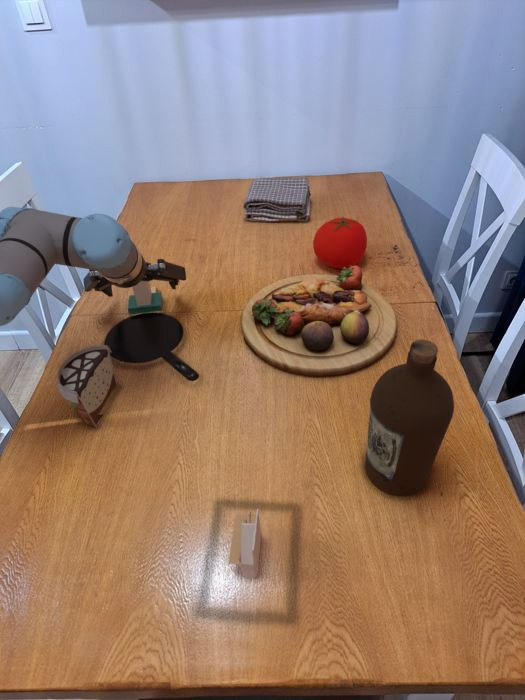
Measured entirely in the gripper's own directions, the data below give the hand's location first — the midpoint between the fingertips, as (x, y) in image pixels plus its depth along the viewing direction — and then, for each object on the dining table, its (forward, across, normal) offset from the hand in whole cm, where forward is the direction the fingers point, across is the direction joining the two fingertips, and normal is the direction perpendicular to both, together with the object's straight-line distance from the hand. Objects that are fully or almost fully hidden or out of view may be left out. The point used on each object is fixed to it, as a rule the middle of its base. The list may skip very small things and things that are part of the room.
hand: (142, 286), depth 106 cm
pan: (-8, +3, -15) cm, 17 cm away
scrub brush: (+3, 0, -5) cm, 6 cm away
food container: (-16, -9, -24) cm, 30 cm away
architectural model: (-39, +16, -47) cm, 63 cm away
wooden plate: (-6, +36, -14) cm, 39 cm away
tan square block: (+6, 0, -2) cm, 6 cm away
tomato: (+10, +47, +2) cm, 48 cm away
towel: (+32, +37, +24) cm, 54 cm away
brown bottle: (-32, +39, -40) cm, 65 cm away
